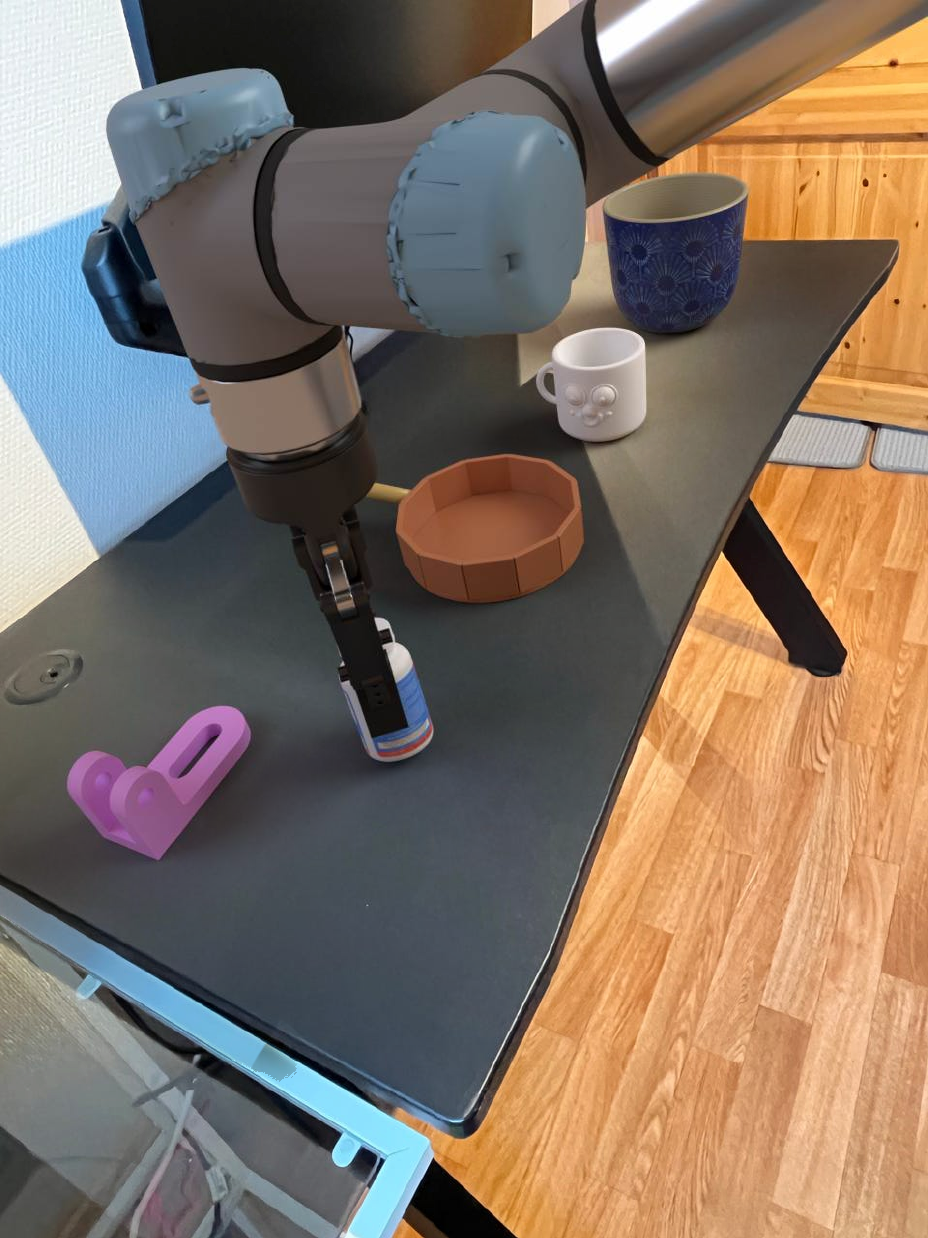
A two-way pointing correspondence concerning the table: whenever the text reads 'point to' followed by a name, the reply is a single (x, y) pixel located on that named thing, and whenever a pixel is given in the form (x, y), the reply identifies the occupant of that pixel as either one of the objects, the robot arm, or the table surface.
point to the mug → (598, 383)
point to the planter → (675, 248)
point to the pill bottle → (413, 704)
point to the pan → (488, 527)
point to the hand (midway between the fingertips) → (388, 726)
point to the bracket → (159, 782)
